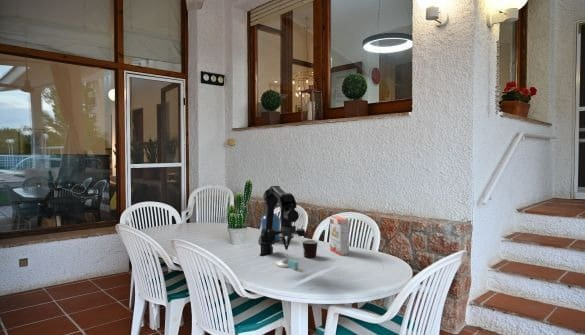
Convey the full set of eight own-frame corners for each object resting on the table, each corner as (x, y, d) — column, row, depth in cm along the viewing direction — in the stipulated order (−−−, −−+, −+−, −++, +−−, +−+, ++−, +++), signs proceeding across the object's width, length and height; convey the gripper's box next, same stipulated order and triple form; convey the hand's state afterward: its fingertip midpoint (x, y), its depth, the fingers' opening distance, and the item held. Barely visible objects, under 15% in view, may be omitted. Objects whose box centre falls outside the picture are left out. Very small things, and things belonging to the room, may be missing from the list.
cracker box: (329, 250, 234) (329, 216, 233) (338, 249, 236) (338, 215, 235) (340, 255, 221) (340, 220, 220) (349, 254, 223) (349, 219, 222)
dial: (272, 263, 201) (272, 256, 200) (289, 260, 206) (288, 253, 206) (288, 271, 187) (287, 264, 187) (305, 268, 192) (304, 261, 192)
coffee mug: (316, 261, 209) (316, 243, 208) (301, 260, 211) (301, 243, 210) (319, 256, 220) (319, 239, 220) (304, 255, 222) (304, 238, 222)
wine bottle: (260, 238, 267) (260, 195, 265) (279, 237, 268) (279, 195, 267) (261, 242, 253) (261, 198, 252) (281, 242, 254) (280, 197, 253)
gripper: (267, 222, 181) (267, 254, 181) (306, 221, 182) (306, 253, 182) (267, 218, 192) (267, 248, 192) (304, 217, 193) (304, 247, 193)
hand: (286, 249), depth 190 cm, fingers closed
